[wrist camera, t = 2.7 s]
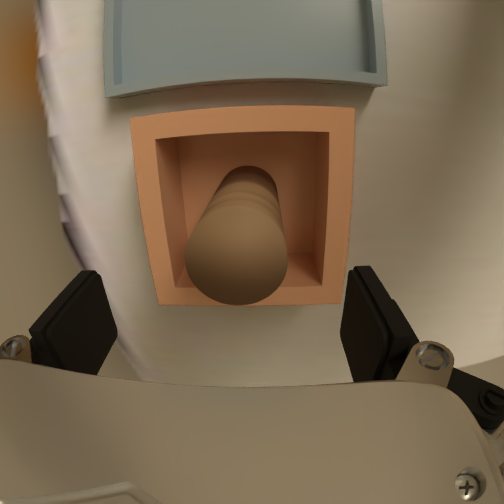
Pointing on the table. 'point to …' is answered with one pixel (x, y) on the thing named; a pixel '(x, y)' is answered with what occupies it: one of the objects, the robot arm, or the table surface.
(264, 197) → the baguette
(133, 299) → the table surface
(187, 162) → the open box
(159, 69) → the tray
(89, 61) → the table surface
